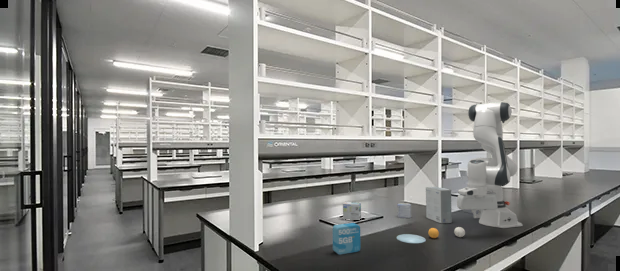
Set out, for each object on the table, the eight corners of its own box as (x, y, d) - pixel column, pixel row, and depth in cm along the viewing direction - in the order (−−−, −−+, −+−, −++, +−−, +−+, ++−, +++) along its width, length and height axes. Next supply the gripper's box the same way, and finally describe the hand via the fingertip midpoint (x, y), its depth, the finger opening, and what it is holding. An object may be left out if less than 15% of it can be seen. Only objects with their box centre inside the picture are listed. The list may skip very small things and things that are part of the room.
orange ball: (435, 236, 159) (435, 226, 159) (440, 239, 154) (440, 229, 154) (426, 236, 159) (426, 226, 159) (431, 239, 154) (431, 229, 154)
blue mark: (418, 234, 163) (418, 233, 163) (430, 242, 149) (430, 242, 149) (392, 235, 162) (392, 234, 162) (402, 243, 148) (402, 243, 148)
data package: (337, 255, 134) (336, 227, 134) (332, 251, 138) (332, 225, 138) (360, 251, 138) (360, 224, 139) (355, 248, 143) (355, 222, 143)
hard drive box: (452, 223, 184) (451, 189, 185) (441, 224, 182) (440, 190, 183) (436, 216, 199) (435, 186, 200) (425, 217, 198) (425, 186, 198)
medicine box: (409, 216, 201) (409, 203, 201) (411, 218, 197) (411, 204, 197) (397, 216, 202) (397, 203, 202) (398, 218, 198) (398, 204, 198)
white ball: (461, 235, 160) (461, 225, 160) (467, 238, 155) (467, 228, 155) (452, 235, 160) (452, 226, 160) (457, 238, 155) (457, 228, 155)
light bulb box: (361, 219, 196) (361, 202, 196) (359, 221, 189) (359, 204, 190) (345, 217, 199) (344, 201, 199) (342, 220, 193) (342, 203, 193)
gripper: (491, 190, 163) (492, 216, 162) (455, 190, 161) (455, 216, 160) (500, 192, 156) (500, 219, 156) (462, 192, 155) (462, 219, 154)
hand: (477, 218), depth 158 cm, fingers closed
